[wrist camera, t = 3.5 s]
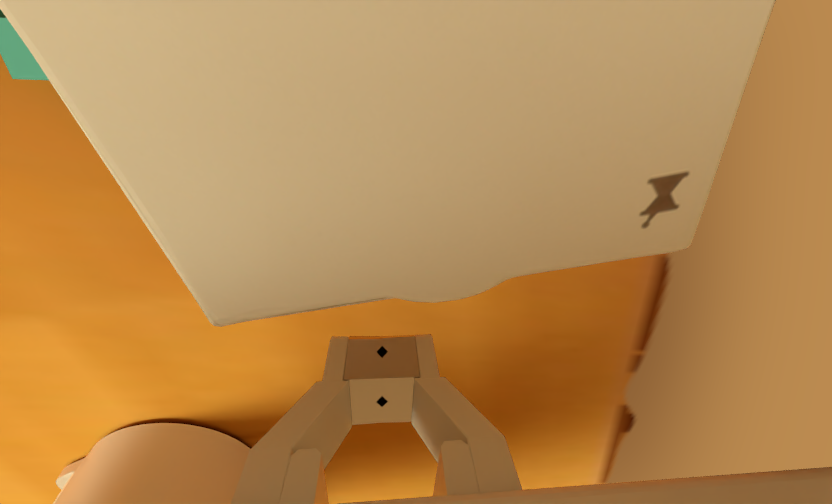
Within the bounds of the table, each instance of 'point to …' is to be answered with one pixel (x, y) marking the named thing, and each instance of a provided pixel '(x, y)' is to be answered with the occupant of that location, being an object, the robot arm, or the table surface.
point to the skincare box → (399, 135)
